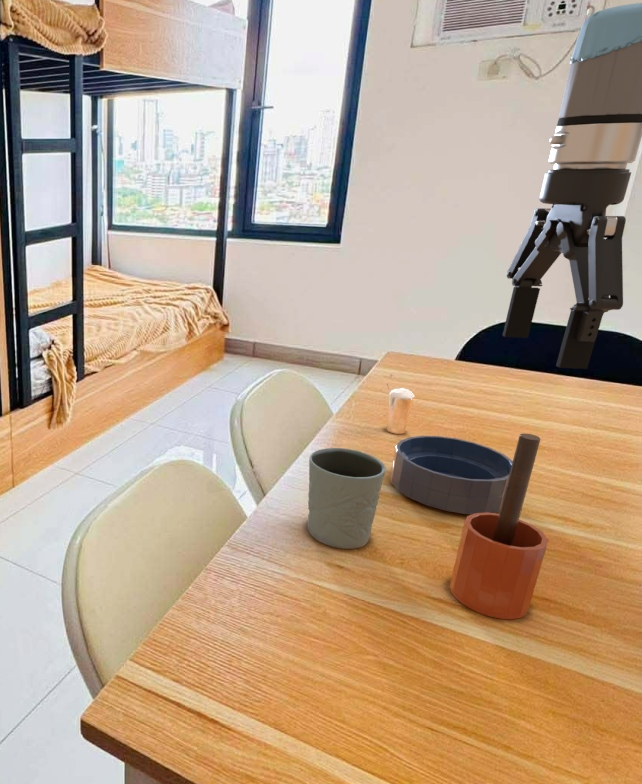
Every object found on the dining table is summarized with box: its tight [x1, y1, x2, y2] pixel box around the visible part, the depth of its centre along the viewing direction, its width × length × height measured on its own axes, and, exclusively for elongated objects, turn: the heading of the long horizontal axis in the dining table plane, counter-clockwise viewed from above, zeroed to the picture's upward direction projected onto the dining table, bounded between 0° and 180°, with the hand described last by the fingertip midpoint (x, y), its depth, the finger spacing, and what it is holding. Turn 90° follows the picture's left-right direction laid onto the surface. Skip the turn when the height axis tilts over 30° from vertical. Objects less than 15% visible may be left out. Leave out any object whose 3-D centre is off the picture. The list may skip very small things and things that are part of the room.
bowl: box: [389, 435, 513, 515], centre depth 105 cm, size 17×17×6 cm
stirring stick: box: [493, 432, 541, 546], centre depth 77 cm, size 2×2×22 cm
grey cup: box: [307, 447, 387, 550], centre depth 93 cm, size 10×10×12 cm
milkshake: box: [386, 383, 415, 435], centre depth 129 cm, size 4×5×10 cm
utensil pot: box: [449, 512, 549, 620], centre depth 79 cm, size 8×8×10 cm
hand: (540, 351), depth 77 cm, fingers open, 13 cm apart
